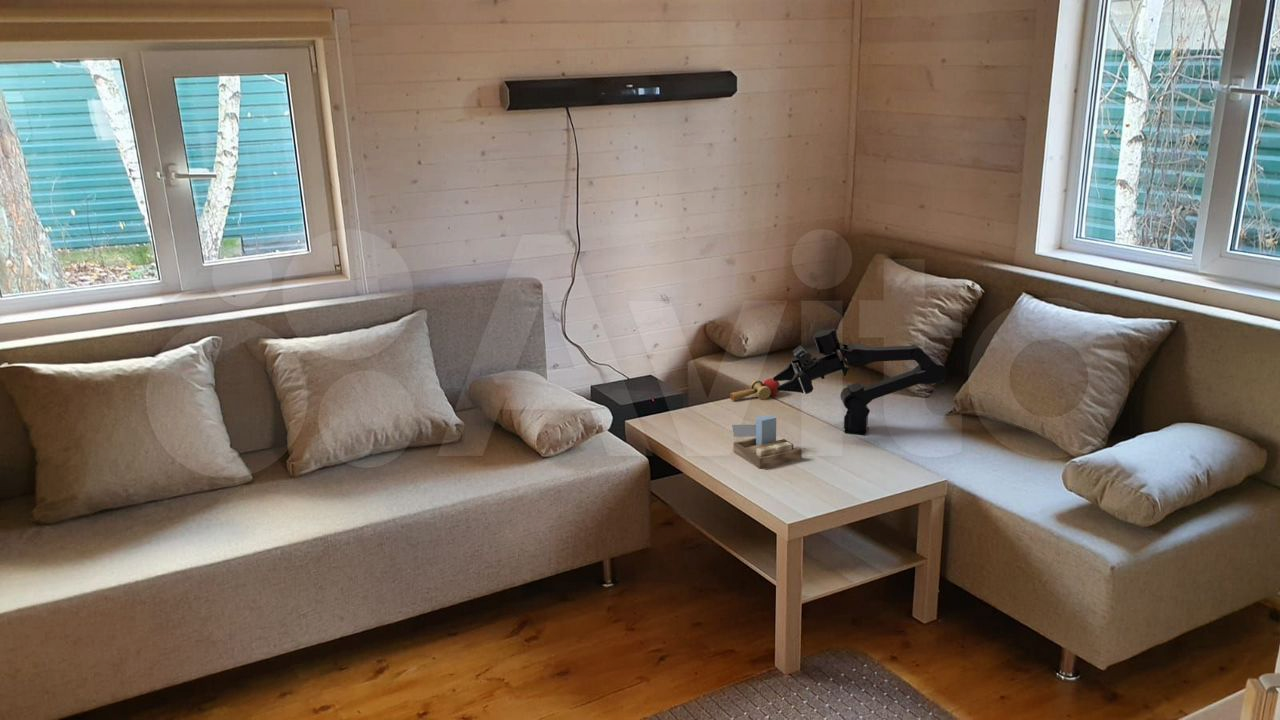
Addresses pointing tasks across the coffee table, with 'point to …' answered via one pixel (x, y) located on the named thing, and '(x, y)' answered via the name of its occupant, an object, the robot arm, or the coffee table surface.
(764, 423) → the light blue block
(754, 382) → the kendama
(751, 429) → the mat
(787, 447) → the offcut
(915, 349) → the robot arm
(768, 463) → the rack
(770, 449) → the offcut
